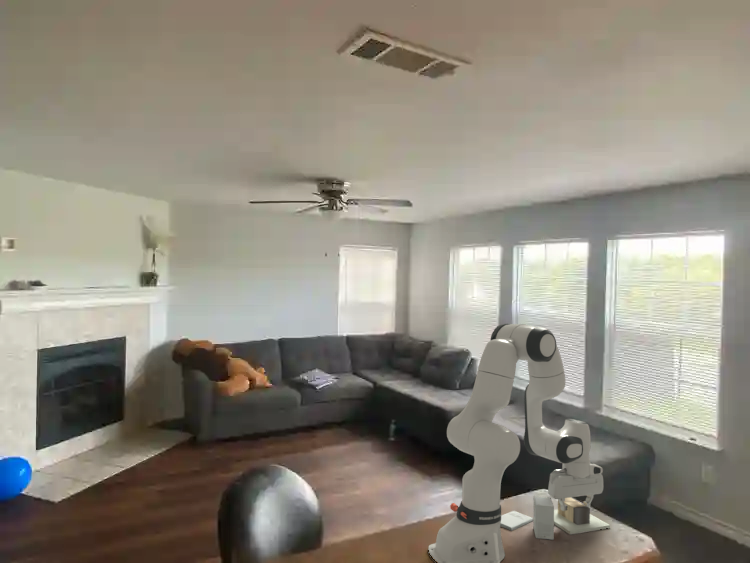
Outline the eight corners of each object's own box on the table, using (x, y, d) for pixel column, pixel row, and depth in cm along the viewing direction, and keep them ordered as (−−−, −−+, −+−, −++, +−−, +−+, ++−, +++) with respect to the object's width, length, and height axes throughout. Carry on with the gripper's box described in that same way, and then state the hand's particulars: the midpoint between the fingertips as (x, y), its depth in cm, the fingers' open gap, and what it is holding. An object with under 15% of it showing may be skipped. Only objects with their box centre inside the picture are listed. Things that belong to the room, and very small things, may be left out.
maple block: (557, 513, 187) (577, 525, 177) (557, 498, 187) (577, 509, 177) (569, 511, 188) (589, 523, 179) (569, 497, 188) (589, 508, 179)
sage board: (570, 534, 173) (570, 531, 173) (539, 514, 188) (539, 511, 188) (609, 528, 178) (610, 525, 178) (576, 509, 193) (577, 506, 193)
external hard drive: (491, 523, 181) (513, 514, 189) (511, 532, 174) (533, 522, 183) (491, 519, 181) (513, 509, 189) (511, 527, 174) (533, 517, 183)
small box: (553, 540, 168) (554, 506, 168) (535, 538, 169) (535, 504, 170) (550, 529, 176) (551, 497, 176) (533, 527, 177) (533, 495, 177)
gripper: (556, 473, 176) (555, 515, 175) (606, 468, 182) (606, 509, 182) (544, 467, 182) (543, 508, 181) (593, 462, 188) (592, 502, 188)
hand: (575, 508), depth 182 cm, fingers open, 8 cm apart
